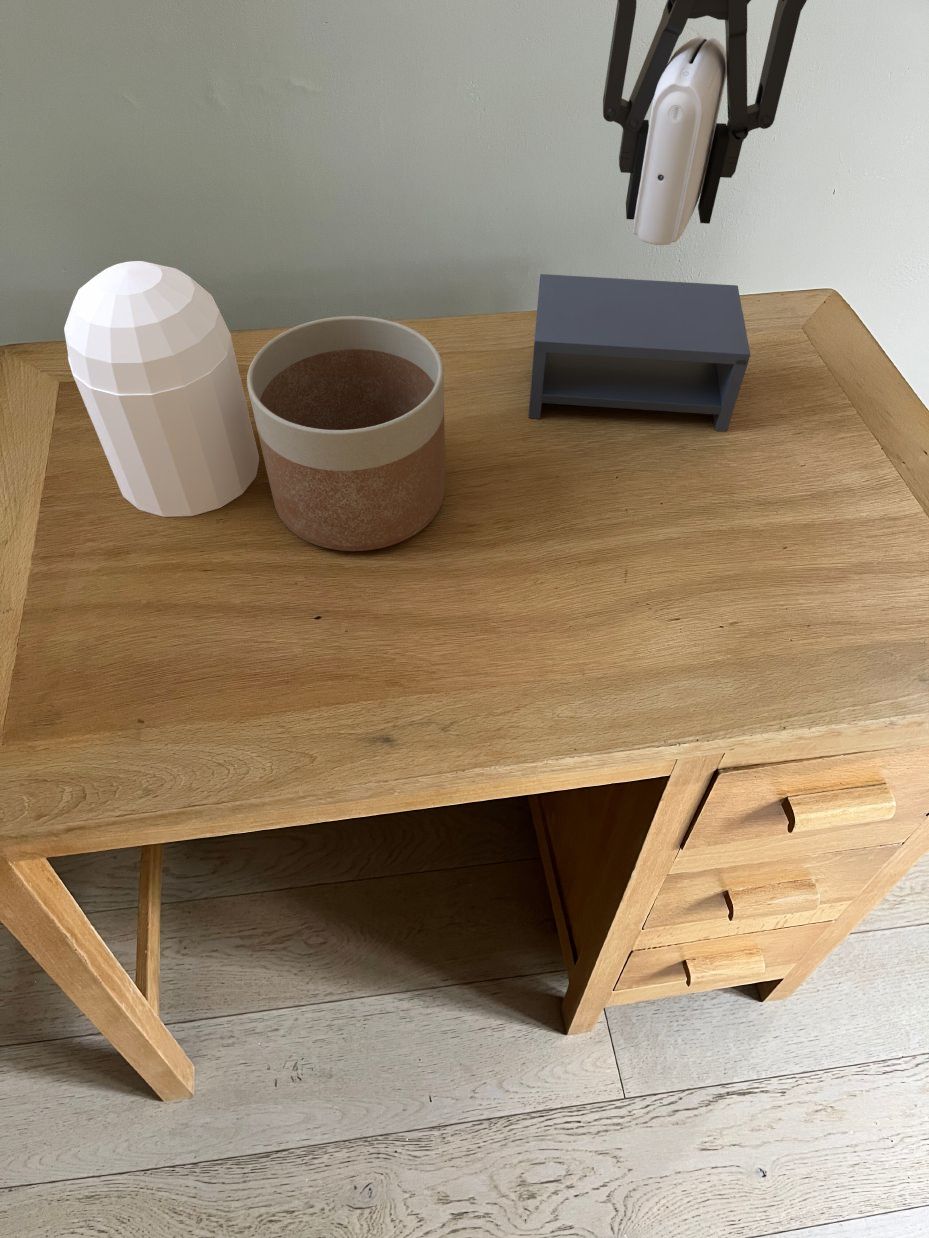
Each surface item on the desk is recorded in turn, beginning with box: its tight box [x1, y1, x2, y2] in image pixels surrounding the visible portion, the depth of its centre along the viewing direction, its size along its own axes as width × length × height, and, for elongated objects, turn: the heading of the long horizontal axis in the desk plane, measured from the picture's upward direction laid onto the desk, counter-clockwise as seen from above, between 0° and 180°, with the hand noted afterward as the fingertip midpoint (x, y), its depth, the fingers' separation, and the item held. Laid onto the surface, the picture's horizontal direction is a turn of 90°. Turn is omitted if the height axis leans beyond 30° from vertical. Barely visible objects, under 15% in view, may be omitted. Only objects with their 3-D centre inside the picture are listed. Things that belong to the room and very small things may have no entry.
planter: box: [246, 315, 446, 552], centre depth 75 cm, size 16×16×14 cm
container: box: [63, 260, 260, 518], centre depth 75 cm, size 14×13×20 cm
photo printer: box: [632, 35, 727, 246], centre depth 66 cm, size 10×4×12 cm, turn 158°
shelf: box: [528, 273, 751, 432], centre depth 87 cm, size 20×12×9 cm, turn 84°
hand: (667, 212), depth 70 cm, fingers closed on photo printer, 5 cm apart
